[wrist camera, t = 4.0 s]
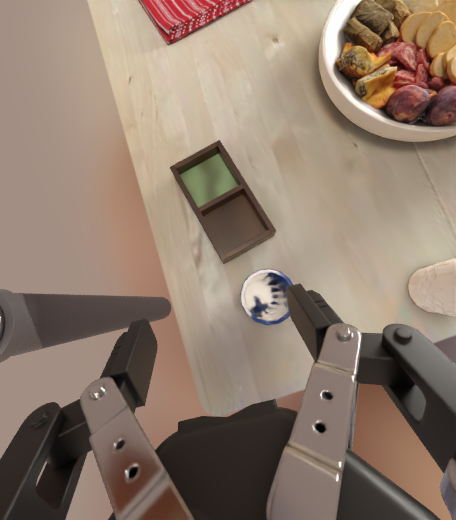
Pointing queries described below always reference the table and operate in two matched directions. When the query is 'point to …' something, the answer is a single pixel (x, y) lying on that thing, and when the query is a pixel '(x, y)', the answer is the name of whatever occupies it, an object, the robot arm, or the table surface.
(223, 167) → the holder
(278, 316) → the cup
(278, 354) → the table surface
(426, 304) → the white cup
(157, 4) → the dish towel
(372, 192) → the table surface
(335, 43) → the bowl
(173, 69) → the table surface
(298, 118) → the table surface
